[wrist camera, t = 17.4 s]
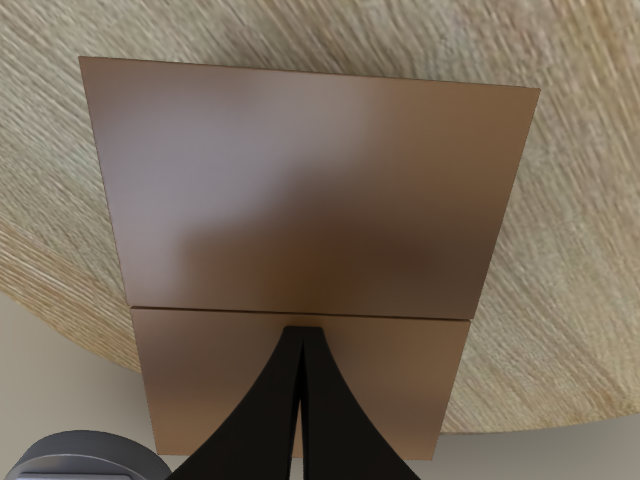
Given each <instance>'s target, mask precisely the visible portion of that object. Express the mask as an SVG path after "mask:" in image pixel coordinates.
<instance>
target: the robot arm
mask: <svg viewBox="0 0 640 480" xmlns="http://www.w3.org/2000/svg"><path fill="white" fill-rule="evenodd" d="M299 403H300V407H301V428H302V449H303V472H304V473H303V479H304V480H421V479H420V478H419V477H418V476H417V475H416V474H415V473H414V472H413V471H412V470H411V469H410V468H409V467H408V465H407V464H406V463H405V462H404V461H403V460H402V459H401V458H400V457H399V455H398V454H397V453H396V452H395V451H394V449H393V448H392V447H391V446H390V445H389V443H388V442H387V441H386V440H385V439H384V437H383V436H382V435H381V434H380V433H379V431H378V430H377V429H376V427H375V426H374V425H373V423H372V422H371V421H370V419H369V418H368V416H367V415H366V414H365V412H364V411H363V409H362V408H361V406H360V405H359V403H358V402H357V400H356V399H355V397H354V395H353V394H352V392H351V390H350V389H349V387H348V385H347V383H346V382H345V380H344V378H343V376H342V374H341V372H340V370H339V368H338V366H337V364H336V362H335V360H334V358H333V356H332V353H331V351H330V348H329V346H328V343H327V340H326V337H325V334H324V330H323V329H322V328H321V327H307V326H286V327H284V328H283V331H282V334H281V336H280V339H279V341H278V343H277V345H276V347H275V349H274V351H273V353H272V355H271V356H270V358H269V360H268V362H267V363H266V365H265V367H264V368H263V370H262V372H261V373H260V375H259V376H258V377H257V379H256V380H255V382H254V383H253V385H252V386H251V388H250V389H249V391H248V392H247V393H246V395H245V396H244V397H243V399H242V400H241V401H240V403H239V404H238V405H237V406H236V408H235V409H234V410H233V411H232V412H231V414H230V415H229V416H228V417H227V418H226V419H225V420H224V422H223V423H222V424H221V425H220V426H219V427H218V428H217V430H216V431H215V432H214V433H213V434H212V435H211V436H210V437H209V438H208V439H207V440H206V441H205V442H204V443H203V444H202V445H201V446H200V447H199V448H198V449H197V450H196V451H195V452H194V453H193V454H192V455H191V456H190V457H189V458H188V459H187V460H186V461H185V462H184V463H183V464H182V465H180V466H179V467H178V468H177V469H176V470H175V471H174V472H173V473H172V474H170V475H169V476H168V477H167V478H166V479H164V480H289V477H290V469H291V461H292V454H293V447H294V439H295V432H296V425H297V418H298V411H299ZM15 480H131V478H130V477H129V476H127V475H99V474H44V473H22V474H19V475H18V477H17V478H16V479H15Z"/></svg>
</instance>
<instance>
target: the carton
mask: <svg viewBox="0 0 640 480" xmlns="http://www.w3.org/2000/svg"><path fill="white" fill-rule="evenodd" d="M78 59H79V64H80V69H81V74H82V79H83V84H84V89H85V94H86V99H87V104H88V109H89V114H90V119H91V124H92V129H93V134H94V139H95V144H96V149H97V154H98V159H99V164H100V169H101V174H102V179H103V184H104V189H105V194H106V199H107V204H108V209H109V214H110V219H111V224H112V229H113V234H114V239H115V244H116V249H117V254H118V259H119V264H120V269H121V274H122V279H123V284H124V289H125V294H126V299H127V304H128V306H147V307H172V308H198V309H223V310H249V311H274V312H300V313H325V314H351V315H376V316H402V317H427V318H453V319H474V315H475V312H476V308H477V305H478V302H479V298H480V295H481V292H482V288H483V285H484V281H485V278H486V275H487V271H488V268H489V264H490V261H491V258H492V254H493V251H494V247H495V244H496V241H497V237H498V234H499V230H500V227H501V224H502V220H503V217H504V213H505V210H506V207H507V203H508V200H509V196H510V193H511V190H512V186H513V183H514V179H515V176H516V173H517V169H518V166H519V162H520V159H521V156H522V152H523V149H524V145H525V142H526V139H527V135H528V132H529V128H530V125H531V122H532V118H533V115H534V111H535V108H536V105H537V101H538V98H539V94H540V91H541V89H540V88H528V87H521V86H507V85H493V84H479V83H464V82H450V81H436V80H422V79H407V78H393V77H379V76H365V75H351V74H336V73H322V72H308V71H294V70H279V69H265V68H251V67H237V66H223V65H208V64H194V63H180V62H166V61H152V60H137V59H123V58H108V57H87V56H78Z"/></svg>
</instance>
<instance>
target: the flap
mask: <svg viewBox="0 0 640 480" xmlns="http://www.w3.org/2000/svg"><path fill="white" fill-rule="evenodd" d="M130 312H131V317H132V323H133V328H134V333H135V339H136V344H137V349H138V354H139V360H140V365H141V370H142V376H143V381H144V386H145V391H146V397H147V402H148V407H149V412H150V418H151V423H152V428H153V434H154V439H155V444H156V449H157V454H158V455H192V454H193V453H194V452H195V451H196V450H197V449H198V448H199V447H200V446H201V445H202V444H203V443H204V442H205V441H206V440H207V439H208V438H209V437H210V436H211V435H212V434H213V433H214V432H215V431H216V430H217V428H218V427H219V426H220V425H221V424H222V423H223V422H224V420H225V419H226V418H227V417H228V416H229V415H230V414H231V412H232V411H233V410H234V409H235V408H236V406H237V405H238V404H239V403H240V401H241V400H242V399H243V397H244V396H245V395H246V393H247V392H248V391H249V389H250V388H251V386H252V385H253V383H254V382H255V380H256V379H257V377H258V376H259V375H260V373H261V372H262V370H263V368H264V367H265V365H266V363H267V362H268V360H269V358H270V356H271V355H272V353H273V351H274V349H275V347H276V345H277V343H278V341H279V339H280V336H281V334H282V331H283V328H284V327H286V326H307V327H321V328H322V329H323V330H324V334H325V337H326V340H327V343H328V346H329V348H330V351H331V353H332V356H333V358H334V360H335V362H336V364H337V366H338V368H339V370H340V372H341V374H342V376H343V378H344V380H345V382H346V383H347V385H348V387H349V389H350V390H351V392H352V394H353V395H354V397H355V399H356V400H357V402H358V403H359V405H360V406H361V408H362V409H363V411H364V412H365V414H366V415H367V416H368V418H369V419H370V421H371V422H372V423H373V425H374V426H375V427H376V429H377V430H378V431H379V433H380V434H381V435H382V436H383V437H384V439H385V440H386V441H387V442H388V443H389V445H390V446H391V447H392V448H393V449H394V451H395V452H396V453H397V454H398V455H399V457H400V458H401V459H402V460H432V458H433V454H434V451H435V447H436V444H437V440H438V437H439V433H440V430H441V426H442V423H443V419H444V416H445V412H446V409H447V405H448V402H449V398H450V395H451V391H452V388H453V384H454V381H455V377H456V373H457V370H458V366H459V363H460V359H461V356H462V352H463V349H464V345H465V342H466V338H467V335H468V331H469V328H470V324H471V321H470V320H469V319H453V318H427V317H402V316H376V315H351V314H325V313H300V312H274V311H249V310H223V309H198V308H172V307H147V306H132V307H131V308H130ZM292 458H303V449H302V428H301V407H300V403H299V411H298V418H297V425H296V432H295V439H294V447H293V454H292Z"/></svg>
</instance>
